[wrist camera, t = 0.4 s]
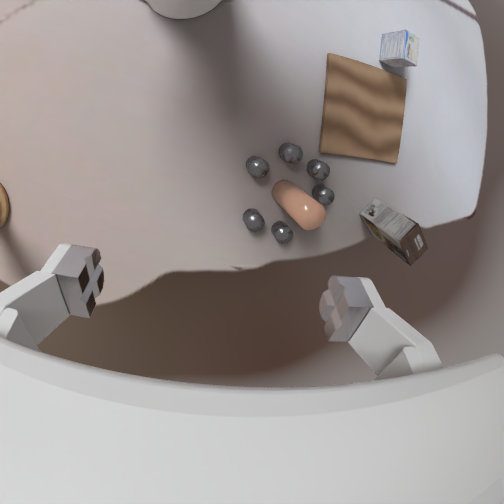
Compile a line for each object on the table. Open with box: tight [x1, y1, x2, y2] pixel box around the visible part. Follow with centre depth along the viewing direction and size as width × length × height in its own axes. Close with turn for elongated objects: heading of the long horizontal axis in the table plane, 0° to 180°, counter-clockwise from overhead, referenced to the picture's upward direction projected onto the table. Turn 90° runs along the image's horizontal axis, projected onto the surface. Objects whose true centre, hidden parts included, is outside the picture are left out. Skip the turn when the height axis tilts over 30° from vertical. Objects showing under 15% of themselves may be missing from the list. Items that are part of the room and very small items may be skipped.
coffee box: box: [360, 199, 428, 266], centre depth 59 cm, size 9×6×16 cm
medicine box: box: [379, 30, 419, 67], centre depth 41 cm, size 8×4×9 cm, turn 171°
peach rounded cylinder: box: [272, 180, 326, 230], centre depth 51 cm, size 5×5×14 cm
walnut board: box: [319, 53, 407, 163], centre depth 51 cm, size 22×22×1 cm
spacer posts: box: [243, 143, 334, 243], centre depth 55 cm, size 21×19×4 cm
